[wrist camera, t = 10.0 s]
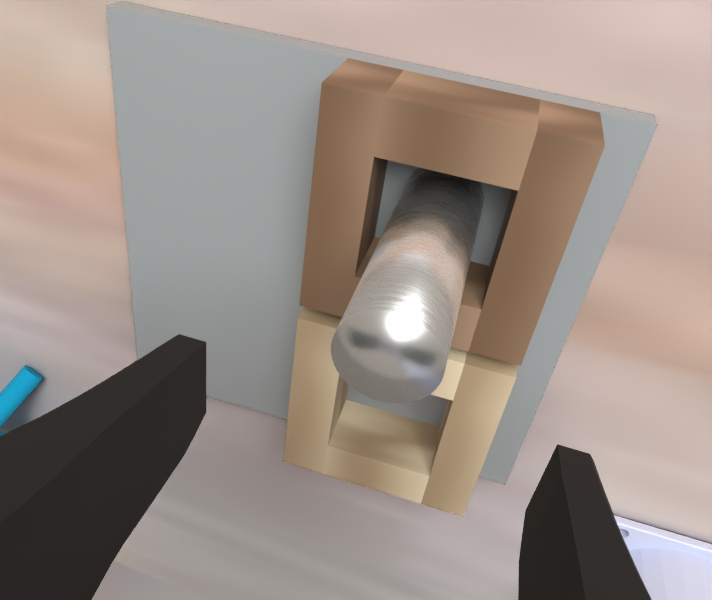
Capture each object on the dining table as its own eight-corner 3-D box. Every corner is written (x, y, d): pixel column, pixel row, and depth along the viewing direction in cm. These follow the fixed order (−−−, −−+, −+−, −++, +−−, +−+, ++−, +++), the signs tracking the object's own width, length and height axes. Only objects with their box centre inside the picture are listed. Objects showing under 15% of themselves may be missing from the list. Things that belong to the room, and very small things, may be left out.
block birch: (520, 329, 22) (516, 377, 20) (470, 465, 26) (463, 516, 24) (321, 277, 22) (298, 318, 20) (304, 416, 27) (283, 461, 25)
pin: (491, 166, 19) (453, 325, 12) (476, 238, 20) (436, 414, 14) (410, 152, 19) (333, 300, 13) (401, 223, 21) (328, 388, 14)
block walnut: (600, 112, 17) (605, 145, 15) (525, 318, 21) (520, 365, 19) (348, 58, 18) (321, 82, 16) (322, 265, 22) (299, 305, 20)
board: (654, 115, 18) (657, 124, 17) (506, 469, 26) (504, 484, 26) (120, 0, 20) (105, 5, 19) (148, 364, 29) (138, 375, 28)
